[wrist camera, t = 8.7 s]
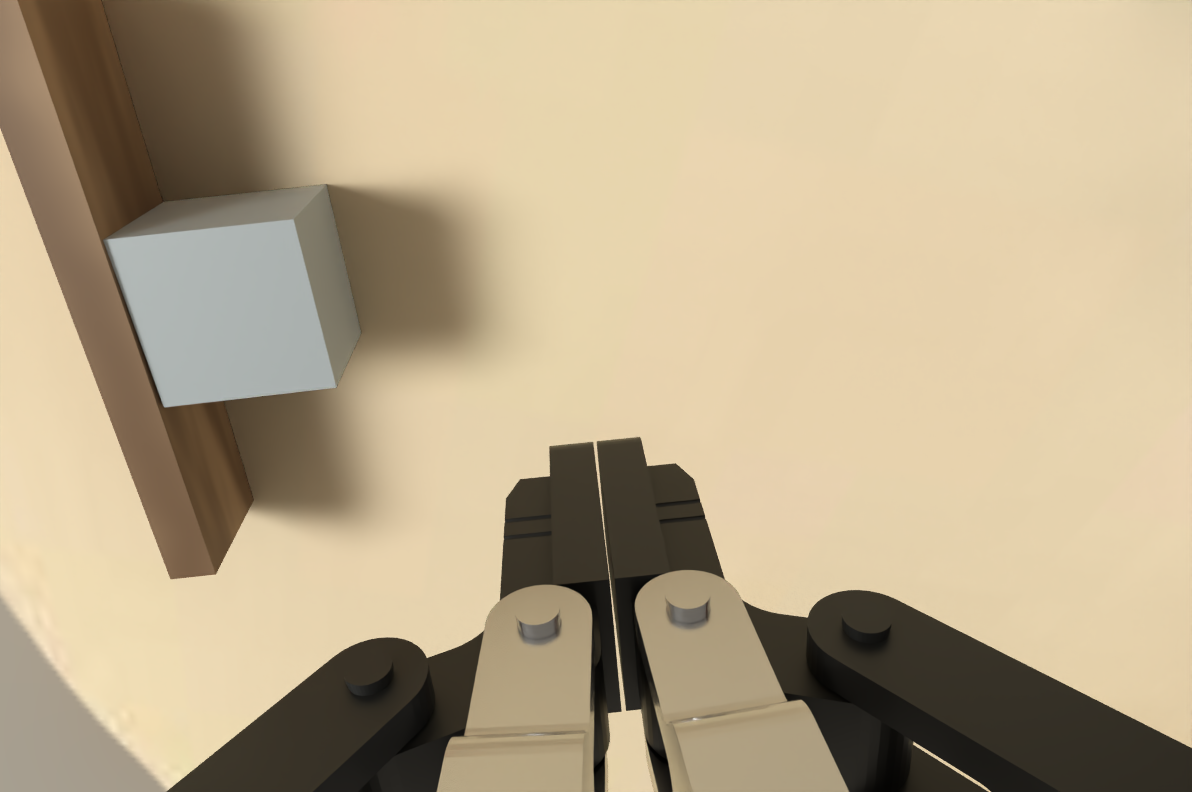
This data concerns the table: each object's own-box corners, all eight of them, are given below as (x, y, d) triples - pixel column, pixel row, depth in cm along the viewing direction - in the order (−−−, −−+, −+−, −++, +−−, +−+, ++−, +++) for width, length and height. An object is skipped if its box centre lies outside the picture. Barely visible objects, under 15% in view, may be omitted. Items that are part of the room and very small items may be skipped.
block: (326, 183, 37) (293, 219, 31) (361, 332, 40) (336, 387, 34) (164, 201, 36) (102, 240, 31) (212, 348, 40) (163, 407, 34)
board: (94, -21, 32) (10, -21, 27) (253, 500, 43) (215, 574, 38) (41, -17, 32) (-54, -15, 27) (214, 504, 43) (170, 579, 38)
